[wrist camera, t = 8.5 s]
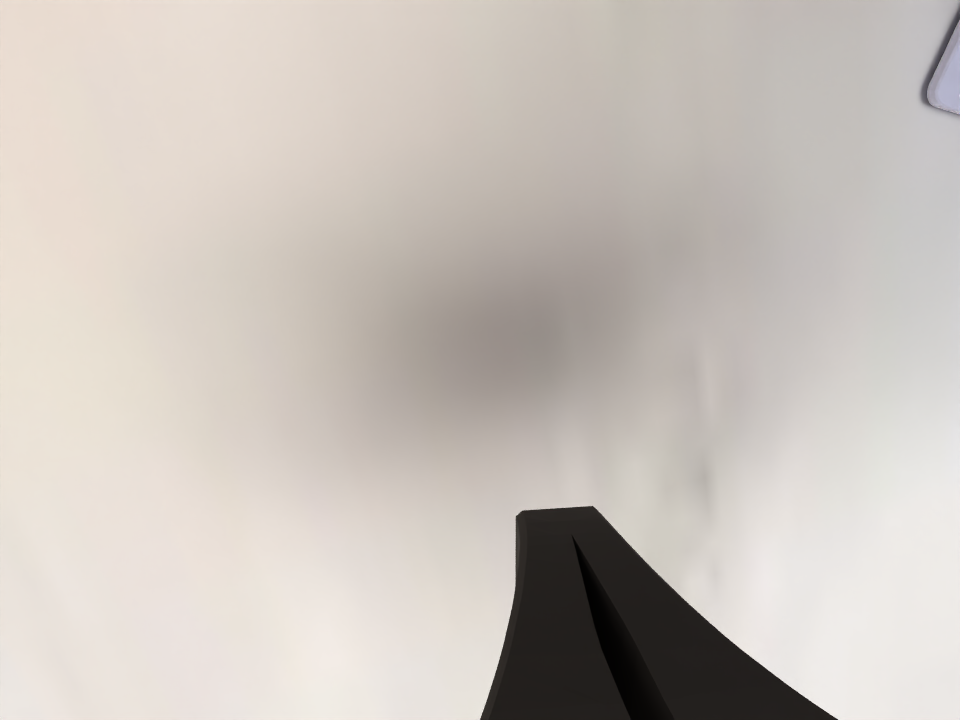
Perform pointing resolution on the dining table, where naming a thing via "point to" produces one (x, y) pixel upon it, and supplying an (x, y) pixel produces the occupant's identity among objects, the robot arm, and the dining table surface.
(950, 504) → the dining table surface
